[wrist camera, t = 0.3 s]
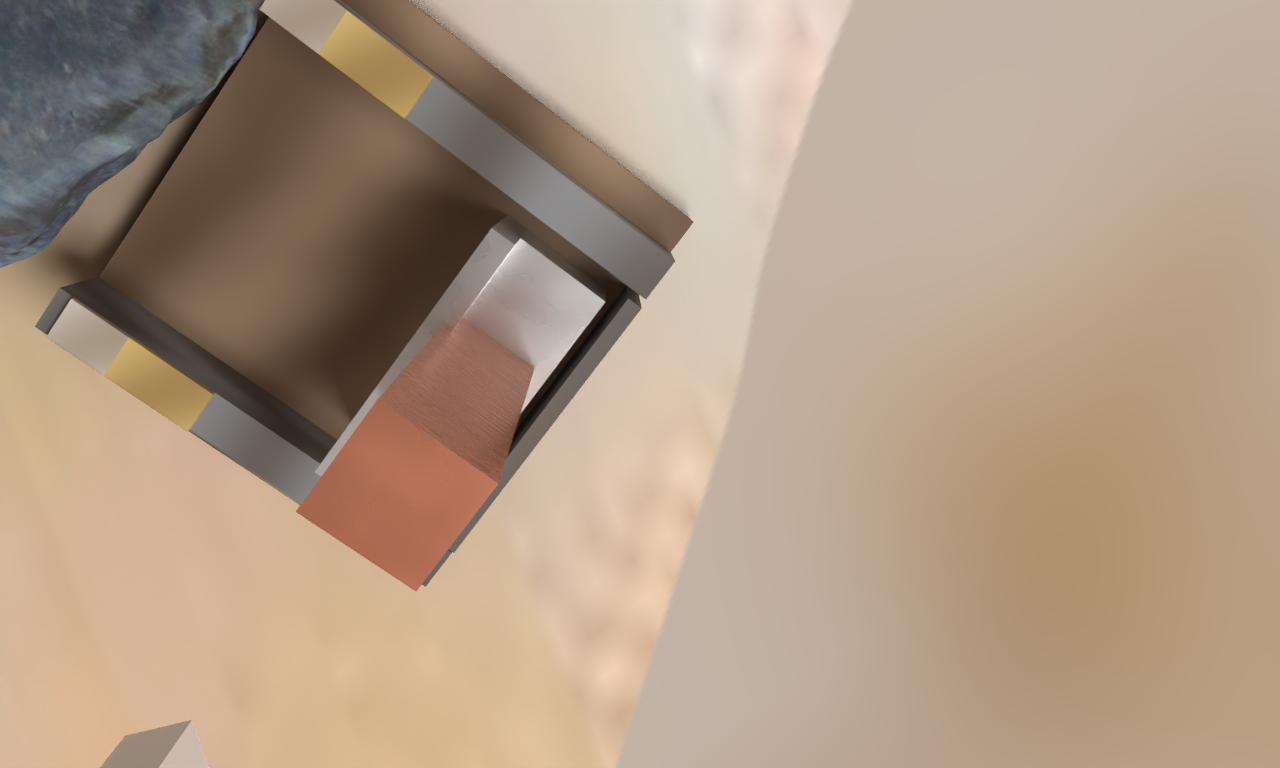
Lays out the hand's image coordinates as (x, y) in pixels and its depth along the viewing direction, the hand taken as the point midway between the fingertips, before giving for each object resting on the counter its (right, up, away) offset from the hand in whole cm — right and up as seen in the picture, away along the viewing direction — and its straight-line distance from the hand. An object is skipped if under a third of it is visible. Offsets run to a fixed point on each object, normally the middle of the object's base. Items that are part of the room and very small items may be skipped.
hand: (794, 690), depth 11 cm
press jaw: (-7, +4, +24) cm, 25 cm away
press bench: (-11, +7, +24) cm, 27 cm away
